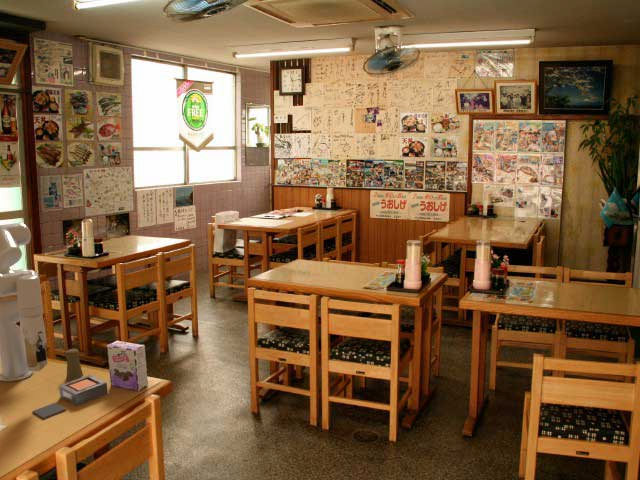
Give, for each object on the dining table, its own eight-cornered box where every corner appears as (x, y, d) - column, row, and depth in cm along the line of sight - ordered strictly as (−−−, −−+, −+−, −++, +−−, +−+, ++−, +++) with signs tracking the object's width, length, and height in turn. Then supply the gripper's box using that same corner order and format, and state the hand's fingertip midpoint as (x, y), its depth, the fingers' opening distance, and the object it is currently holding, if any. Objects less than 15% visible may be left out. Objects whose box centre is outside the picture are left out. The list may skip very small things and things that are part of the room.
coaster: (32, 412, 209) (32, 411, 208) (55, 404, 215) (54, 402, 214) (43, 419, 203) (43, 417, 203) (66, 410, 209) (66, 408, 209)
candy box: (110, 386, 228) (105, 344, 225) (121, 380, 234) (117, 339, 231) (138, 391, 223) (134, 349, 219) (149, 385, 228) (145, 344, 225)
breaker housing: (59, 397, 220) (58, 385, 219) (90, 385, 229) (89, 374, 228) (76, 406, 212) (75, 394, 211) (107, 394, 221) (106, 382, 221)
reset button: (69, 390, 220) (69, 385, 220) (87, 384, 225) (87, 379, 225) (79, 395, 215) (78, 390, 215) (97, 388, 221) (96, 383, 220)
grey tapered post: (77, 379, 235) (74, 353, 233) (63, 378, 236) (60, 352, 234) (86, 373, 241) (83, 347, 239) (72, 372, 242) (69, 346, 240)
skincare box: (36, 364, 218) (32, 332, 215) (48, 364, 218) (44, 332, 215) (27, 371, 211) (23, 338, 209) (39, 371, 211) (35, 338, 209)
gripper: (9, 308, 213) (15, 355, 216) (32, 318, 202) (37, 368, 205) (30, 302, 218) (35, 349, 222) (53, 312, 207) (59, 361, 211)
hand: (36, 357), depth 214 cm, fingers closed on skincare box, 7 cm apart
